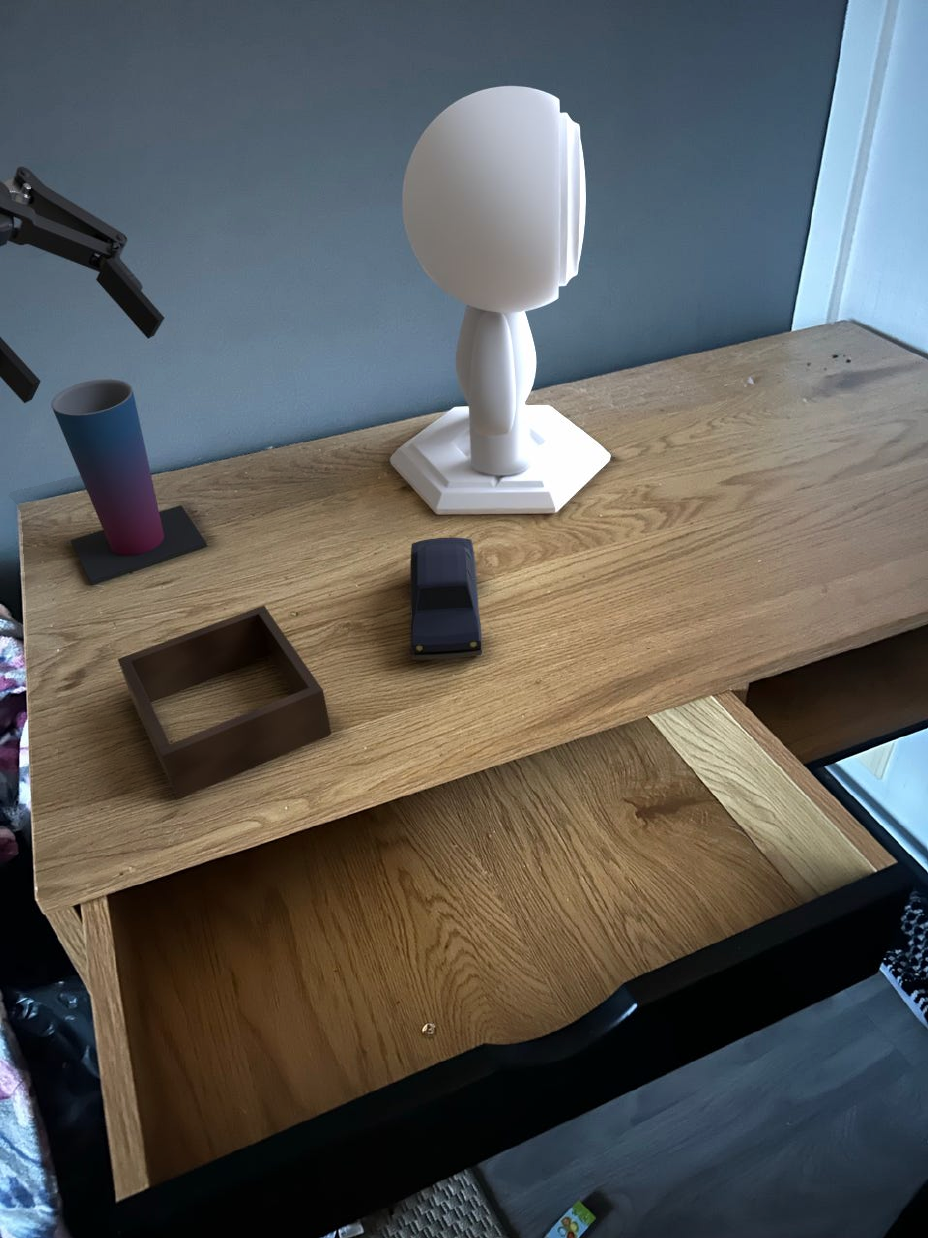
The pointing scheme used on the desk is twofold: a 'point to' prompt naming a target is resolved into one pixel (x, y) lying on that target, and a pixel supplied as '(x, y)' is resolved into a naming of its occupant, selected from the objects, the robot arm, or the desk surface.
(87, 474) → the cup
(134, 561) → the mat
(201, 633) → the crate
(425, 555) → the toy car
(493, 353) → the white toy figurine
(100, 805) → the desk surface
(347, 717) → the desk surface
